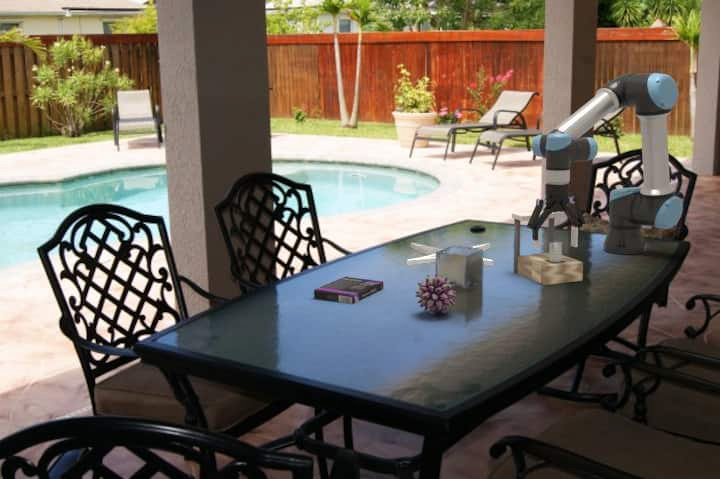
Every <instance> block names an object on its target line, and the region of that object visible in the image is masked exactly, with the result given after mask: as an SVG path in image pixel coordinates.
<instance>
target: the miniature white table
mask: <svg viewBox="0 0 720 479" xmlns="http://www.w3.org/2000/svg"><path fill="white" fill-rule="evenodd" d="M533 211H534V210H533ZM533 211H522V212H512V213H511V218H512V219H514V222H513V227H514V228H513V273H514V274H518V256H521V222H524V221H526V222H527V221H529V220H530V218H531V215H532V213H533ZM542 212H543V210H542V211H541V213H540V215H541V214H542ZM540 215H539V216H540ZM565 215H566V214H565V213H564V212H559V211H558V212H552V213H551V214H550V215H549V216H548V218H547V219H546V220H548V223H547V224H548V226H547V230H548V231H547V233H548V234H547V253H549V243H550V242H555V222H556V221H555V219H557V218H559V219H561V218H565Z"/></svg>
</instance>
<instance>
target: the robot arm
mask: <svg viewBox="0 0 720 479" xmlns="http://www.w3.org/2000/svg"><path fill="white" fill-rule="evenodd" d="M678 96H679V90H678V86H677V83H676V81H675V79H674V78H672V76H671V75H669V74H668V73H667V74H666V73H659V72H644V73H642V72H639V73H638V72H637V73H636V72H629V73H625V74H621V75H619V76H618V77H615V78H613V79H612V80H611V81H609V82H607V83H605V84H604V85H603V86H601V87H600V88H598V89H597V91H596V92H595V95H594V97H592V98H591V99H590V100H588V102H586V103H585V104H584V105H582V106H581V107H580V108H578V110H576V111H575V112H574V113H573V114H571V115H570V116H569V117H567V118H566V119H565V120H563V121H562V122H561V123H560V124H559V125H557V126H556V127H555V128H553V130H551V131H550V132H549V133H547V134H537V135H536V136H534V138H533V140H532V141H531V150H532V154H534V155H535V156H536V157H539V158H543V159H545V182H546V183H545V185H544V186H545V188H544V192H545V193H544V194H545V198H544V199H541V198H537V199H536V200H535V207H534V208H533V213H532V215H531V218H530V220H528V222H527V223H526V224H527V225H526V228H527V229H530V230H531V231H532V232H531V233H532V241H534V243H533V244H534V245H533V247H534V248H533V250H535V251H537V252H541V251H542V248H541V247H542V244H541V243H542V230H540V228H541V227H542V226H543V225H544V223H545V222H546V220H548V219H547V218H548V216H549V215H550V214H551V213H552V212H558V211H559V212H564V213H565V215H566V216H567V218H568V220H570V222H571V224H572V225H571V227H570V230H571V231H570V247H574V248H578V238H579V237H580V235H581V228H582V227H583V225H586V222H587V221H586V219H585V217H584V214H583V212H582V209H581V208H580V205H579V201H578V200H579V199H578V197H577V196H573V195H570V188H571V187H570V184H569V182H570V181H571V163H576V162H577V163H578V162H588V161H591V160H594V159H595V158H596V156H597V155H598V153H599V152H598V151H599V146H598V143H597V141H596V140H595V139H594V138H593V137H588V136H587V137H585V136H583V135H584V134H586V133H587V132H588V131H589V130H591V128H593V127H594V126H595V125H596V124H598V123H599V122H600V121H601V120H602V119H603V118H605V117H606V116H608V115H609V114H614V113H616V112H617V111H618V110H620V109H624V108H634V111H635V116H636V117H637V118H638V119H639V120H640V136H641V137H640V138H641V152H642V155H641V156H642V171H643V187H642V186H633V187H632V186H631V187H621V188H615V189H612V190H611V192H610V197H609V200H608V202H609V207H608V208H609V213H608V214H609V216H608V230H607V232H606V233H607V234H606V236H605V239H604V242H603V245H602V246H603V247H602V249H603V251H604V252H606V253H610V254H611V253H612V254H618V255H640V254H643V253H646V252H647V244H646V239H645V236H644V233H643V226H646V227H650V228H656V229H663V230H664V229H665V230H669V229H672V228H673V227H675V226H676V225H677V224H678V222H679V221H680V219H681V217H682V215H683V210H684V203H683V200H682V199H681V198H680V197H679V196H678V195H676V191H675V187H673V186H672V185H671V183H670V182H671V181H670V159H669V142H668V140H669V139H668V138H669V137H668V118H667V117H668V116H669V114H671V113H672V108H673V107H674V106H676V103H677V101H678ZM582 136H583V137H582ZM569 195H570V196H569ZM569 203H570V206H571V208H572V210H571V208H570V207H569V206H568V205H569ZM544 206H545V207H544ZM541 211H543V212H542V214H541V215H540V213H541ZM572 211H573V212H574V213H573V212H572ZM539 215H540V216H539Z"/></svg>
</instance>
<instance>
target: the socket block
mask: <svg viewBox="0 0 720 479" xmlns="http://www.w3.org/2000/svg"><path fill="white" fill-rule="evenodd" d="M517 274H518V275H520V276H523V277H525V278H527V279H530V280H532V281H534V282H536V283H539V284H541V285H543V286H546V285H547V286H548V285H556V284H564V283H573V282H581V281H583V278H584V277H583V276H584V262H583V261H581V260H577V259H575V258H572V257H570V256H566V255H564V254H562V263H555V264H552V263H549V253H548V252H543V253H542V252H541V253H534V254H533V253H532V254H523V255H522V254H520V256H518V273H517Z"/></svg>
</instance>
